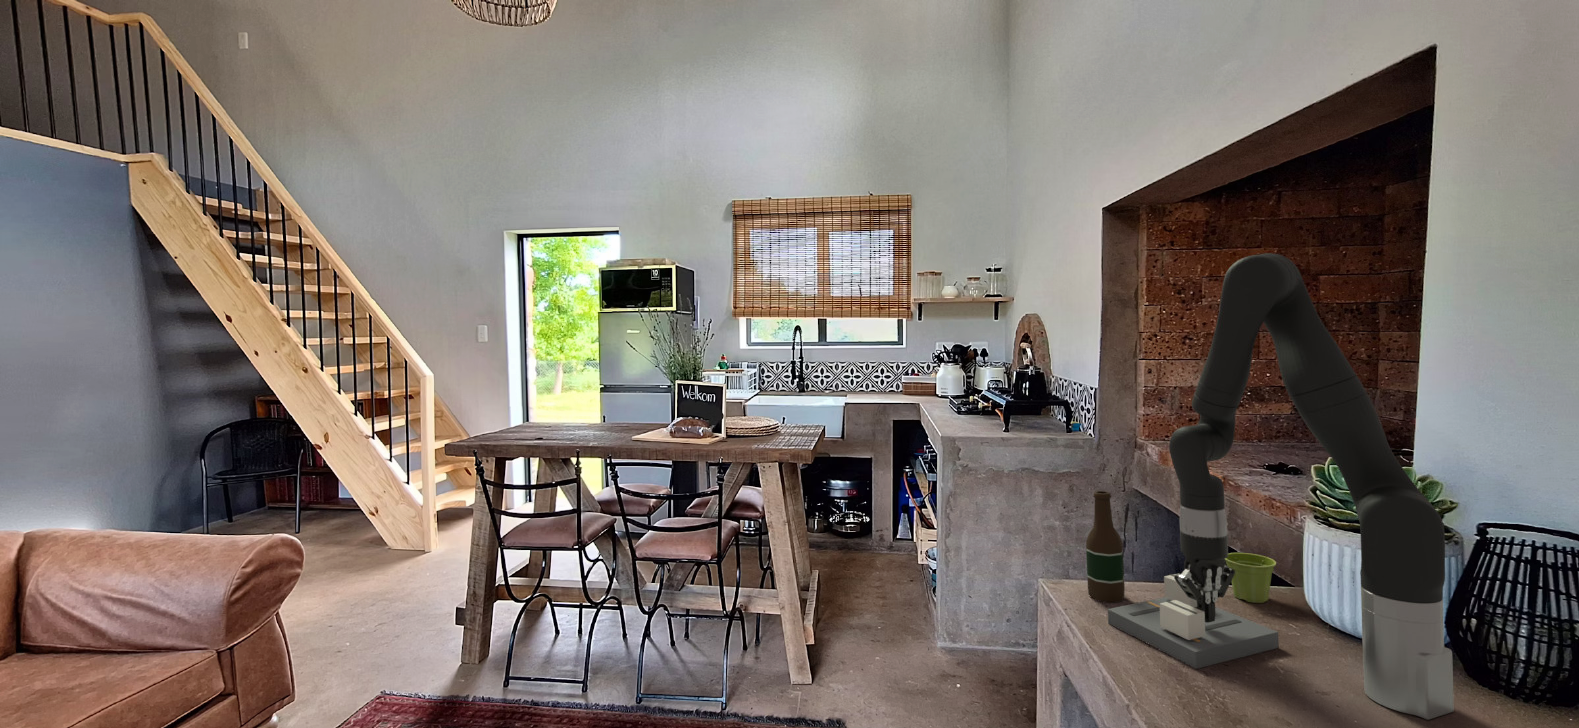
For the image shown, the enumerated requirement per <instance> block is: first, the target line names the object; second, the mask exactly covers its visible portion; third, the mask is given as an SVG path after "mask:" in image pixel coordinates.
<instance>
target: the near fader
mask: <svg viewBox="0 0 1579 728" xmlns="http://www.w3.org/2000/svg"><path fill="white" fill-rule="evenodd" d="M1160 627H1162V628H1164V629H1166V630H1168V631H1171V632H1173V633H1175V634H1177V635H1179V636H1181V637H1183V638H1185V639H1187V640H1191V639H1195V638H1199V637H1204V636H1205V613H1204V611H1201V610H1199V609H1196V608H1194V607H1192V606H1189V605H1187V604H1184V603H1182V602H1180V601H1177V600H1173V601H1166V602H1164V603H1160Z"/></svg>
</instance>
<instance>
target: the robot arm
mask: <svg viewBox="0 0 1579 728" xmlns="http://www.w3.org/2000/svg"><path fill="white" fill-rule="evenodd" d="M1222 283H1223V284H1222V287H1221V288H1222V289H1221V293H1220V302H1219V308H1218V315H1217V321H1216V323H1215V324H1216V326H1215V329H1214V332H1213V333H1214V334H1213V337H1212V341H1211V346H1210V349H1209V351H1208V354H1207V357H1206V361H1205V363H1204V365H1203V366H1204V367H1203V369H1202V372H1201V375H1200V378H1199V380H1198V382H1197V385H1196V389H1195V392H1194V393H1193V397H1192V401H1191V407H1192V410H1193V411H1194V412H1195V413H1197V414H1198V415H1199V421H1198V422H1197V424H1195V425H1188V426H1182V427H1179V428H1177V429H1176V430H1175V431H1174V432H1173V433H1172V434H1171V437H1170V439H1169V445H1168V447H1169V449H1168V451H1169V455H1170V459H1171V462H1172V464H1173V465H1172V466H1173V468H1174V472H1175V474H1176V477H1177V480H1178V483H1179V495H1180V496H1179V497H1180V499H1179V501H1180V502H1179V503H1180V510H1179V533H1180V534H1179V535H1180V536H1179V537H1180V538H1179V539H1180V541H1179V542H1180V551H1181V553H1182V554H1183V555H1184V557H1185V559H1184V562H1183V568H1184V570H1183V571H1182V572H1181V573H1175V574H1176V575H1175V576H1174V579H1175V580H1176V582H1177V583H1178V584H1179V586H1180V587H1181V588H1182V590H1183V591H1184V592H1185V594H1186V595H1187V596H1188V597H1189V598H1192V599H1194V600H1196V601H1197V609H1199V610H1201V611H1204V613H1205V622H1207V623H1209V622H1213V621H1215V615H1216V614H1215V607H1216V603H1217V602H1218V601H1219V600H1218V598H1224V597H1225V595H1226V593H1227V591H1228V589H1229V587H1230V585H1231V584H1232V579H1233V577H1234V575H1235V570H1234V569H1231V568H1229V567H1228V566H1227V564H1226V560H1225V558H1227V557H1228V554H1229V545H1228V543H1229V542H1228V541H1229V540H1228V520H1227V516H1226V509H1225V508H1226V507H1225V506H1226V505H1225V488H1224V482H1223V481H1222V479H1221V478H1220V477H1218V476H1216V475H1213V474H1211V473H1210V469H1209V465H1208V462H1214V461H1219V460H1221V459H1223V458H1224V457H1226V456H1227V454H1228V453H1229V452H1230V450H1231V449H1232V446H1233V444H1234V441H1235V440H1234V439H1235V430H1236V416H1237V415H1236V412H1237V411H1238V408H1239V406H1240V403H1241V401H1242V398H1243V396H1244V395H1243V394H1244V392H1245V390H1246V388H1247V385H1248V380H1249V378H1250V373H1251V367H1252V366H1251V365H1252V360H1253V359H1252V358H1253V351H1254V347H1255V343H1256V339H1257V337H1258V335H1259V331H1260V329H1261V327H1262V326H1263V324H1264V326H1265V328H1266V329H1267V331H1268V332H1269V334H1270V336H1271V339H1272V342H1273V344H1274V349H1275V352H1276V358H1277V363H1278V367H1279V371H1280V375H1281V379H1282V382H1283V385H1284V387H1285V390H1286V392H1287V393H1288V396H1289V397H1290V399H1291V401H1292V403H1293V405H1294V406H1295V408H1296V410H1297V412H1298V414H1299V416H1300V417H1301V419H1302V420H1303V422H1304V424H1305V425H1306V426H1307V428H1308V429H1309V431H1310V432H1311V434H1312V435H1313V436H1314V437H1315V439H1316V440H1317V441H1318V443H1319V444H1320V445H1321V447H1322V448H1323V450H1325V451H1326V453H1327V454H1328V455H1329V457H1330V458H1331V459H1332V460H1333V462H1334V463H1335V465H1336V466H1337V469H1338V470H1339V472H1340V474H1341V476H1342V478H1343V480H1344V482H1345V485H1346V487H1347V489H1348V491H1349V494H1350V496H1351V499H1352V501H1353V505H1354V507H1355V510H1356V514H1357V518H1358V521H1359V529H1360V530H1359V531H1360V532H1359V533H1360V553H1361V554H1360V556H1361V558H1360V559H1361V561H1360V562H1361V563H1360V571H1359V572H1360V573H1359V574H1360V598H1361V600H1360V601H1361V602H1360V604H1361V606H1360V608H1361V637H1362V667H1363V679H1362V680H1363V690H1364V693H1365V695H1366V696H1367V697H1368V699H1369V698H1370V699H1371V700H1372V701H1374V702H1375V703H1377V704H1379V705H1381V706H1384V707H1386V708H1389V709H1391V710H1394V711H1396V712H1400V713H1404V714H1408V715H1412V716H1413V715H1414V716H1416V717H1417V716H1418V717H1420V718H1423V720H1431V719H1434V718H1437V717H1438V718H1439V717H1440V716H1444V715H1447V714H1450V713H1453V712H1454V711H1455V707H1454V706H1455V705H1454V703H1455V702H1454V675H1453V674H1454V673H1453V672H1454V671H1453V670H1454V669H1453V668H1454V667H1453V651H1452V649H1450V648H1448V647H1446V646H1445V641H1444V640H1445V637H1444V636H1445V635H1444V634H1445V632H1444V592H1443V591H1444V585H1445V581H1446V541H1445V540H1446V535H1445V526H1444V522H1443V519H1442V517H1441V515H1440V514H1439V513H1438V511H1437V509H1436V508H1435V507H1434V505H1432V503H1431V502H1430V501H1429V499H1427V497H1425V496H1424V494H1423V493H1422V492H1421V491H1420V490H1419V489H1418V487H1417V486H1416V484H1415V483H1414V482H1413V481H1412V479H1411V478H1410V476H1409V475H1408V474H1407V472H1406V471H1405V469H1404V468H1403V467H1402V465H1401V464H1400V463H1399V461H1398V459H1397V458H1396V456H1395V454H1394V453H1393V451H1392V449H1391V447H1390V445H1389V442H1388V439H1387V436H1386V433H1385V431H1384V428H1383V425H1382V423H1381V420H1380V418H1379V415H1378V412H1377V411H1376V408H1375V406H1374V404H1373V402H1372V400H1371V398H1370V396H1369V394H1368V392H1367V390H1366V389H1365V387H1364V385H1363V384H1362V382H1361V380H1360V379H1359V377H1358V375H1357V373H1356V372H1355V370H1354V369H1353V367H1352V366H1351V364H1350V362H1349V361H1348V359H1347V358H1346V356H1345V354H1344V353H1343V351H1342V350H1341V348H1340V346H1339V344H1338V343H1337V342H1336V340H1335V339H1334V338H1333V336H1332V334H1331V333H1330V331H1329V330H1328V329H1327V326H1325V324H1324V323H1323V321H1322V319H1321V317H1320V316H1319V314H1318V311H1317V310H1316V308H1315V306H1314V302H1313V301H1312V298H1311V296H1310V293H1309V292H1308V289H1307V287H1306V284H1305V281H1304V280H1303V277H1302V274H1301V272H1300V270H1299V267H1297V266H1296V264H1295V263H1294V262H1293V261H1292V260H1291V259H1289V258H1287V257H1286V256H1284V255H1283V254H1278V253H1273V252H1271V253H1270V252H1269V253H1268V252H1267V253H1259V254H1254V255H1248V256H1245V257H1242V258H1240V259H1239V260H1237V261H1235V262H1234V263H1233V264H1232V265H1231V266H1230V267H1229V268H1228V269H1227V271H1226V273H1225V275H1224V279H1223V282H1222ZM1179 574H1181V575H1179Z"/></svg>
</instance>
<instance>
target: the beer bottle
mask: <svg viewBox="0 0 1579 728" xmlns="http://www.w3.org/2000/svg"><path fill="white" fill-rule="evenodd" d="M1092 497H1093V498H1094V516H1093V517H1094V518H1093V519H1094V520H1093V526H1092V528H1091V530H1090V532H1089V533H1088V535H1087V538H1086V541H1085V543H1086V545H1085V547H1086V548H1085V551H1086V552H1085V554H1086V555H1085V556H1086V573H1087V575H1086V576H1087V577H1086V578H1087V591H1088V592H1087V593H1088V596H1089V595H1090V596H1091V597H1090V596H1089V597H1090V598H1092V597H1093V598H1092V599H1094V600H1095V599H1096V600H1095V601H1097V600H1099V601H1098V602H1102V601H1105V602H1104V603H1108V602H1114V603H1120V602H1123V600H1124V598H1125V589H1126V588H1125V566H1124V547H1123V541H1122V538H1121V536H1120V533H1119V532H1118V531H1117V530H1116V528H1115V527H1114V522H1113V514H1112V505H1111V498H1112V494H1111V493H1110V491H1109V492H1108V491H1105V490H1097V491H1094V493H1093V496H1092Z"/></svg>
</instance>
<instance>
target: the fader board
mask: <svg viewBox="0 0 1579 728" xmlns="http://www.w3.org/2000/svg"><path fill="white" fill-rule="evenodd" d="M1166 601H1172V600H1170V599H1167V598H1165V596H1164V597H1161V598H1155V599H1150V600H1146V601H1139V602H1136V603H1132V604H1125V605H1121V606H1116V607H1112V608H1108V609H1107V623H1108V625H1110V624H1111V626H1112V627H1115V628H1116V627H1117V628H1116V629H1118V630H1120V629H1121V630H1120V631H1122V632H1124V633H1126V634H1128V633H1129V634H1128V635H1130V636H1132V635H1133V636H1135V637H1137V638H1139V639H1141V640H1143V641H1145V642H1147V643H1149V644H1151V645H1153V646H1154V647H1153V646H1152V647H1153V648H1155V647H1156V648H1155V649H1157V648H1158V649H1157V650H1159V649H1160V650H1159V651H1161V652H1162V651H1163V652H1162V653H1164V652H1166V653H1167V654H1166V653H1165V654H1166V655H1168V654H1169V655H1168V656H1170V655H1171V657H1172V656H1173V657H1172V658H1174V657H1175V658H1174V659H1176V658H1178V659H1179V660H1178V659H1177V660H1178V661H1180V660H1181V661H1180V662H1182V663H1184V662H1185V663H1184V664H1185V665H1188V666H1189V665H1190V667H1192V668H1194V669H1195V670H1197V669H1201V668H1204V667H1209V666H1213V665H1216V664H1221V663H1224V662H1228V661H1232V660H1236V659H1239V658H1244V657H1248V656H1251V655H1257V654H1260V653H1265V652H1267V651H1268V652H1269V651H1272V650H1275V649H1276V650H1277V649H1279V647H1280V646H1279V645H1280V644H1279V631H1278V630H1275V629H1272V628H1270V627H1267V626H1264V625H1262V624H1260V623H1258V622H1255V621H1252V620H1249V619H1247V618H1244V617H1242V616H1239V615H1236V614H1235V613H1232V612H1229V611H1227V610H1224V609H1222V608H1219V607H1217V606H1215V614H1216V615H1215V621H1213V622H1209V623H1207V622H1205V636H1204V637H1199V638H1195V639H1191V640H1187V639H1185V638H1183V637H1181V636H1179V635H1177V634H1175V633H1173V632H1171V631H1168V630H1166V629H1164V628H1162V627H1160V603H1164V602H1166ZM1194 608H1196V609H1197V607H1194ZM1133 636H1132V637H1133ZM1135 637H1134V638H1135ZM1137 638H1136V639H1137ZM1139 639H1138V640H1139ZM1141 640H1140V641H1141ZM1143 641H1142V642H1143ZM1145 642H1144V643H1145ZM1147 643H1146V644H1147ZM1149 644H1148V645H1149ZM1151 645H1150V646H1151Z"/></svg>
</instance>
